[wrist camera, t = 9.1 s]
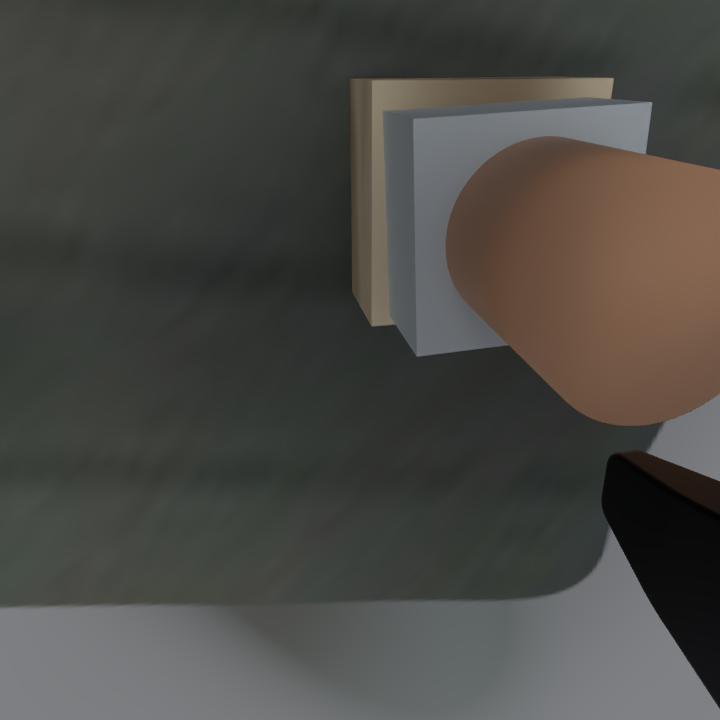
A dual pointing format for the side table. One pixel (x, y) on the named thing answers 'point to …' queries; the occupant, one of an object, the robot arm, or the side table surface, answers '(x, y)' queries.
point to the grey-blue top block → (447, 179)
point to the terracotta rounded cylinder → (597, 273)
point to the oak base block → (369, 154)
